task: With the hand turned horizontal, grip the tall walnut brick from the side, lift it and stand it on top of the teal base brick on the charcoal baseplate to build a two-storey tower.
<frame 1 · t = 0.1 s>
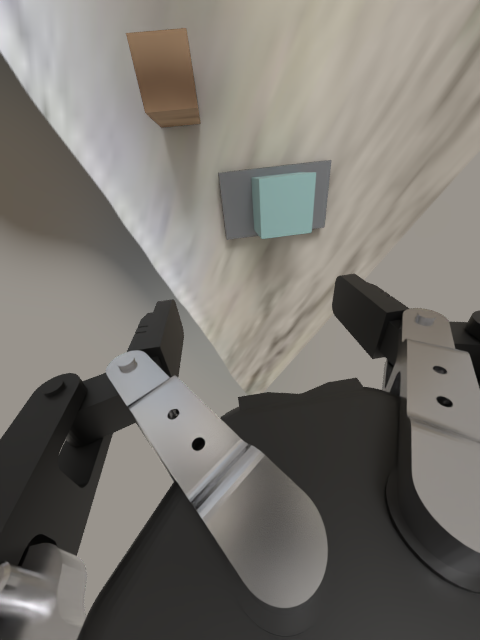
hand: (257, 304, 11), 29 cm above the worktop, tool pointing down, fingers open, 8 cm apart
walnut brick: (176, 99, 28), on the worktop
tower base: (273, 201, 35), on the worktop
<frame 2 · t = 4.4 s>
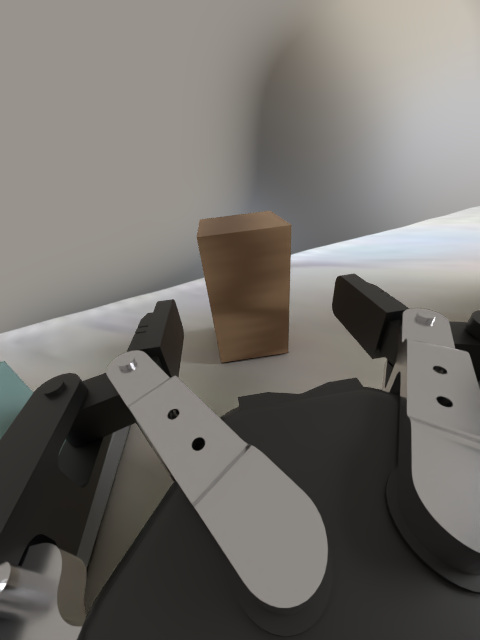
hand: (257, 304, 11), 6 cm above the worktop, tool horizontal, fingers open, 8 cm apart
walnut brick: (249, 337, 19), on the worktop
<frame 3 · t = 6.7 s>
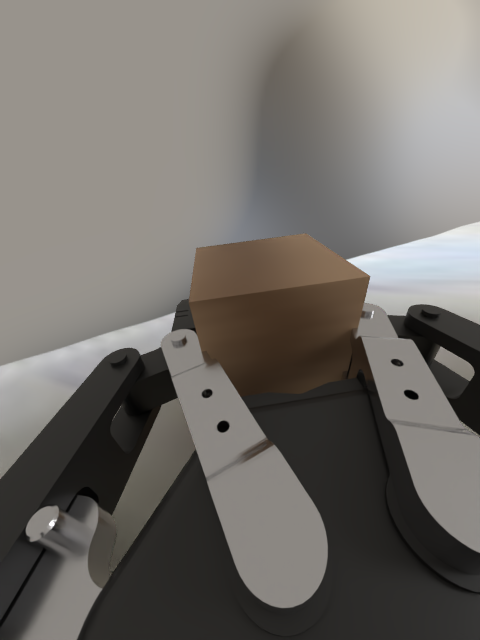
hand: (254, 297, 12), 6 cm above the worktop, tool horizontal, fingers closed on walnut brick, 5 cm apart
walnut brick: (269, 409, 13), on the worktop, touching gripper
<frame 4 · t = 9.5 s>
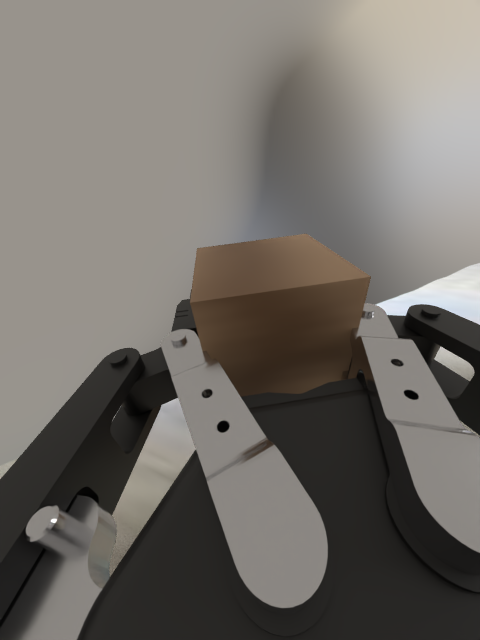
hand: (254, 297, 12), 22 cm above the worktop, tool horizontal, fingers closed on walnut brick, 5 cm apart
walnut brick: (269, 409, 13), point 16 cm above the worktop, touching gripper
when the fingers open (15 cm above the worktop, at t = 12.1 s): walnut brick drops 1 cm, resting on tower base.
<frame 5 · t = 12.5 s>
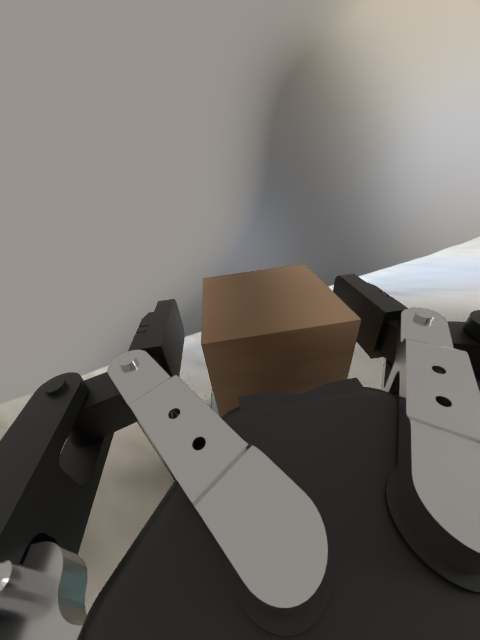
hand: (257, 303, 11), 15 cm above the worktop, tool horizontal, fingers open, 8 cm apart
walnut brick: (270, 424, 14), point 7 cm above the worktop, touching tower base
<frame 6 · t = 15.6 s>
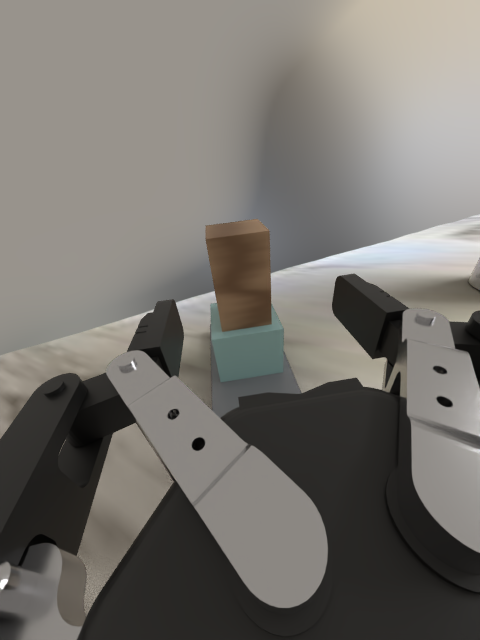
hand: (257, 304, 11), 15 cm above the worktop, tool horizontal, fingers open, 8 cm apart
walnut brick: (243, 314, 25), point 7 cm above the worktop, touching tower base
tower base: (248, 362, 29), on the worktop
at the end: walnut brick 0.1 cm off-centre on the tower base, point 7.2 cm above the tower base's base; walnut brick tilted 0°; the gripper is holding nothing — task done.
